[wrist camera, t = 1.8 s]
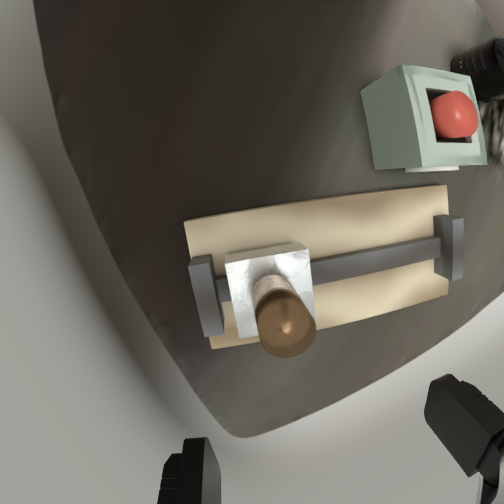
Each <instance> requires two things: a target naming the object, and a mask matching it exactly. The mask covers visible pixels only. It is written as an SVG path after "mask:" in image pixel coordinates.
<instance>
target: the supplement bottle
mask: <svg viewBox="0 0 504 504" xmlns="http://www.w3.org/2000/svg"><path fill="white" fill-rule="evenodd" d="M452 72H453V73H457V74H462V75H466V76H470V78H471V81H472V85H473V89H474V93H475V97H476V101H477V104H484V103H488V102H492V101H496V100H500V99H504V37H502V36H497V37H494V38H492V39H490V40H488V41H485V42H483V43H481V44H479V45H477V46H475V47H473V48H471V49H469V50H466V51H464V52H462V53H461V54H459V55H457V56H456V57H455V58H454V59H453V62H452Z"/></svg>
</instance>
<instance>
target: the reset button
mask: <svg viewBox="0 0 504 504" xmlns="http://www.w3.org/2000/svg"><path fill="white" fill-rule="evenodd" d="M428 101H429V106H430V110H431V115H432V120H433V125H434V131H435V136H436V140H437V141H439V140H445V139H452V138H459V137H466V136H471V135H473V134H474V133H475V132H476V130H477V127H478V115H477V111H476V109H475V106H474V104H473V102H472V101H471V100H470V98H469V97H468V96H467V95H466V94H464V93H463V92H461V91H452V92H449V93H446V94H443V95H441V96H438V97H435V98H432V99H429V100H428Z"/></svg>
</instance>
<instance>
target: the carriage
mask: <svg viewBox="0 0 504 504" xmlns="http://www.w3.org/2000/svg"><path fill="white" fill-rule="evenodd" d="M225 267H226V273H227V278H228V283H229V288H230V293H231V299H232V304H233V309H234V314H235V319H236V324H237V329H238V333H239V338H246V337H251V336H257V335H259V339H260V343H261V345H262V347H263V348H264V349H265V350H266V351H267V352H268V353H270V354H271V355H273V356H276V357H281V358H288V357H293V356H296V355H299V354H301V353H302V352H304V351H305V350H306V349H308V348H309V346H310V345H311V344H312V342H313V341H314V338H315V335H316V318H315V307H314V297H313V287H312V277H311V268H310V259H309V251H308V248H306V247H305V246H304V245H303V244H301V243H300V242H297V243H291V244H285V245H280V246H274V247H268V248H262V249H257V250H251V251H245V252H239V253H233V254H228V255H225Z"/></svg>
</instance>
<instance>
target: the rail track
mask: <svg viewBox="0 0 504 504" xmlns="http://www.w3.org/2000/svg"><path fill="white" fill-rule="evenodd" d="M184 226H185V232H186V237H187V242H188V247H189V252H190V257H191V261H190V263H189V265H188V269H189V273H190V278H191V282H192V287H193V291H194V295H195V300H196V304H197V308H198V312H199V317H200V321H201V325H202V329H203V333H204V337H209V340H210V343H211V347H212V349H217V348H223V347H230V346H236V345H242V344H248V343H254V342H260V339H259V335H257V336H251V337H246V338H239V333H238V329H237V324H236V319H235V314H234V309H233V304H232V299H231V293H230V288H229V283H228V278H227V273H226V267H225V255H228V254H233V253H239V252H245V251H251V250H257V249H262V248H268V247H274V246H280V245H285V244H291V243H297V242H300V243H301V244H303V245H304V246H305V247H306V248H308V251H309V259H310V268H311V277H312V287H313V297H314V307H315V318H316V330H319V329H324V328H328V327H332V326H337V325H341V324H345V323H349V322H353V321H357V320H361V319H365V318H369V317H372V316H376V315H380V314H383V313H387V312H391V311H394V310H398V309H401V308H404V307H408V306H411V305H414V304H418V303H421V302H424V301H427V300H430V299H433V298H437V297H440V296H443V295H446V294H448V280H450V281H454V280H458V279H461V278H463V261H464V218H461V217H456V216H451V215H449V213H448V197H447V185H427V186H417V187H408V188H398V189H389V190H381V191H372V192H364V193H356V194H348V195H341V196H333V197H326V198H319V199H312V200H305V201H298V202H291V203H285V204H278V205H272V206H265V207H259V208H253V209H247V210H241V211H235V212H229V213H224V214H218V215H212V216H207V217H201V218H196V219H191V220H186V221H185V222H184Z"/></svg>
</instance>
